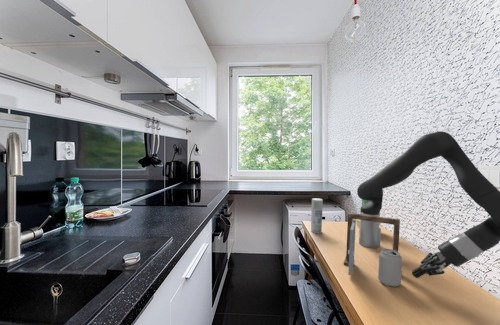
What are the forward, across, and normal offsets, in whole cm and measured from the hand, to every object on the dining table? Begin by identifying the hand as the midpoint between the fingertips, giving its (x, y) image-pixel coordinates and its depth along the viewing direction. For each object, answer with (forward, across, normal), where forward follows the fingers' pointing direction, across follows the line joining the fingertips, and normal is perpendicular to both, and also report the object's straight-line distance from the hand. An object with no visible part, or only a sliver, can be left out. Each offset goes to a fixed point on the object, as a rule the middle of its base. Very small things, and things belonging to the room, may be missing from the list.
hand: (413, 275), depth 85 cm
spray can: (+35, -43, -28) cm, 62 cm away
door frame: (+13, -10, -6) cm, 18 cm away
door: (+17, -3, -12) cm, 21 cm away
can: (+9, 0, -2) cm, 9 cm away
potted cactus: (+15, -59, -8) cm, 62 cm away
